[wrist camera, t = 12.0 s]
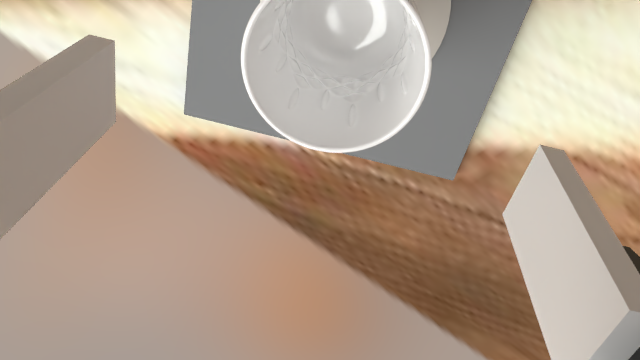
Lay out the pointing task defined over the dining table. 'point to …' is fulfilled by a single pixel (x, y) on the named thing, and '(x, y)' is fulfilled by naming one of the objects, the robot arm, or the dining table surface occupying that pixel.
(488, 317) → the dining table surface
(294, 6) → the white cup
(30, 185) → the robot arm
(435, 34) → the mat
